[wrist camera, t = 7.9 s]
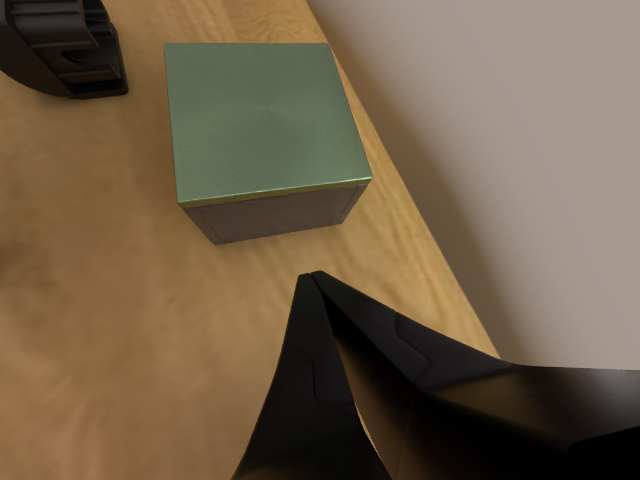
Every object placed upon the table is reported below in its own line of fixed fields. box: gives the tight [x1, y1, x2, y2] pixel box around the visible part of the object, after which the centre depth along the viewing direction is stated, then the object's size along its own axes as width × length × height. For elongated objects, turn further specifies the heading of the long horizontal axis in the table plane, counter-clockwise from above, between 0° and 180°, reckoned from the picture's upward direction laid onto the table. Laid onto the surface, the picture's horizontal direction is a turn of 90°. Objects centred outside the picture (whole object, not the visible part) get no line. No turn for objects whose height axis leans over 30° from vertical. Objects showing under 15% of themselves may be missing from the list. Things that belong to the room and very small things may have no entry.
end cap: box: [0, 0, 128, 99], centre depth 21 cm, size 10×7×7 cm
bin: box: [183, 184, 368, 245], centre depth 20 cm, size 11×12×7 cm
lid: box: [164, 43, 373, 209], centre depth 16 cm, size 12×12×1 cm
